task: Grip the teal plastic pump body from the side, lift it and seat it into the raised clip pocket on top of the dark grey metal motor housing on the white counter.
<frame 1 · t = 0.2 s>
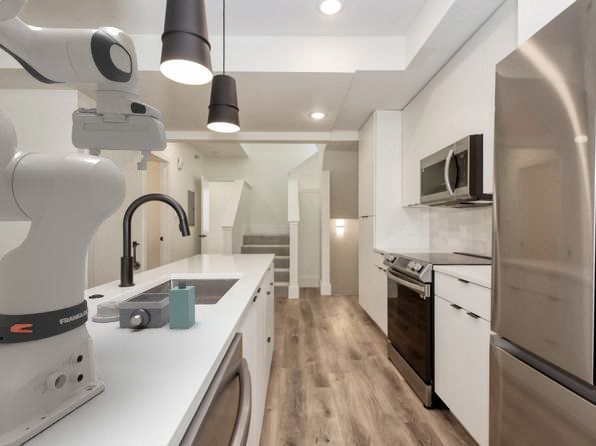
hand: (121, 169, 75), 40 cm above the countertop, tool pointing down, fingers open, 8 cm apart
motor: (150, 321, 90), on the countertop
mechanical component: (112, 318, 94), on the countertop
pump: (182, 325, 86), on the countertop
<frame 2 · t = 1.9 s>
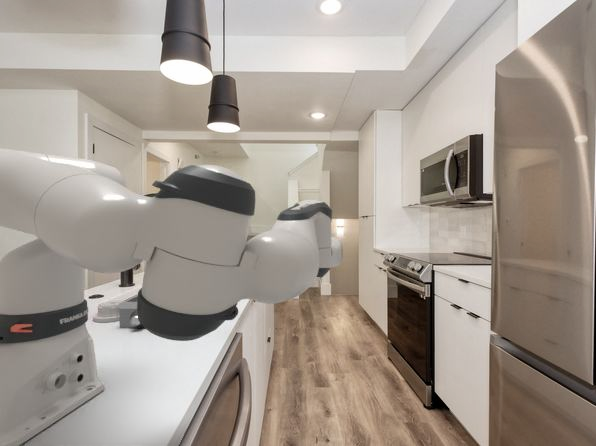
hand: (227, 252, 85), 19 cm above the countertop, tool horizontal, fingers open, 8 cm apart
nothing on the countertop moved.
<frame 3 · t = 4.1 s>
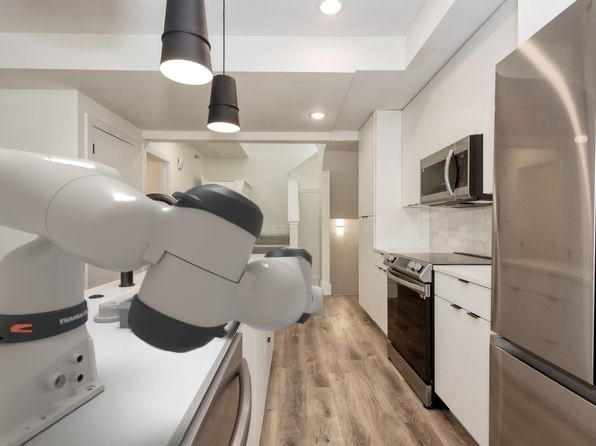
hand: (210, 302, 86), 6 cm above the countertop, tool horizontal, fingers open, 8 cm apart
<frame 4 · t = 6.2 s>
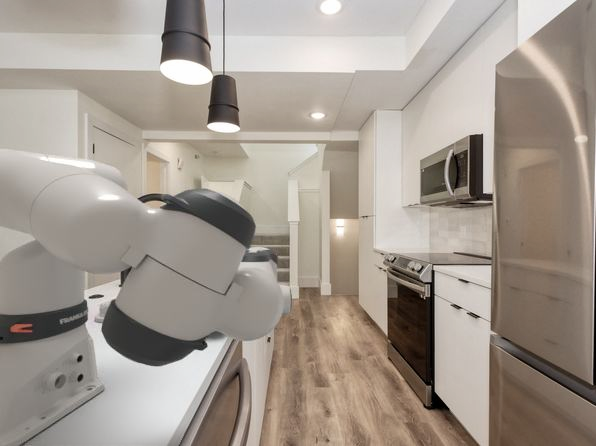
hand: (178, 300, 86), 7 cm above the countertop, tool horizontal, fingers closed on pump, 5 cm apart
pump: (182, 325, 86), on the countertop, touching gripper
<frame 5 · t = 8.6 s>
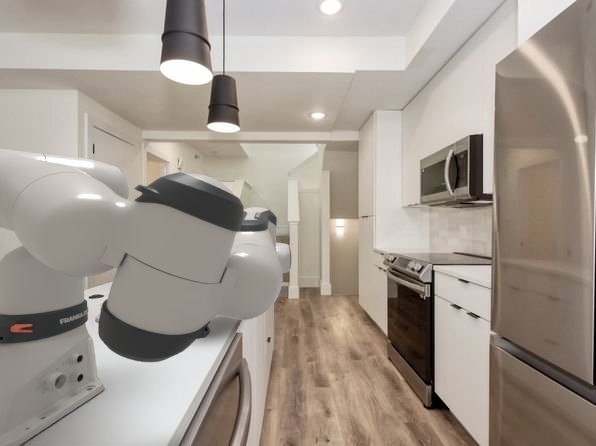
hand: (178, 259, 86), 18 cm above the countertop, tool horizontal, fingers closed on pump, 5 cm apart
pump: (182, 283, 86), point 11 cm above the countertop, touching gripper
when the fingers open (13 cm above the countertop, at t = 11.3 s): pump drops 1 cm, resting on motor.
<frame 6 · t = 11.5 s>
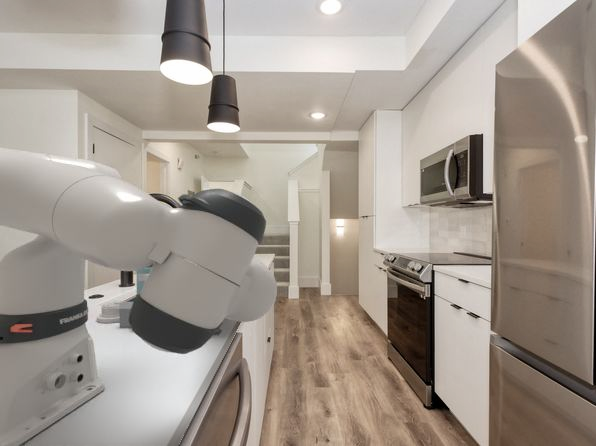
hand: (146, 274, 90), 13 cm above the countertop, tool horizontal, fingers open, 7 cm apart
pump: (150, 302, 90), point 5 cm above the countertop, touching motor
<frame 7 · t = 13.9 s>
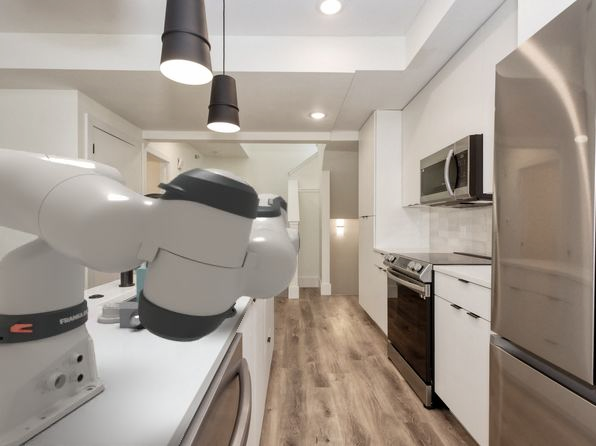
hand: (191, 242, 89), 22 cm above the countertop, tool horizontal, fingers open, 8 cm apart
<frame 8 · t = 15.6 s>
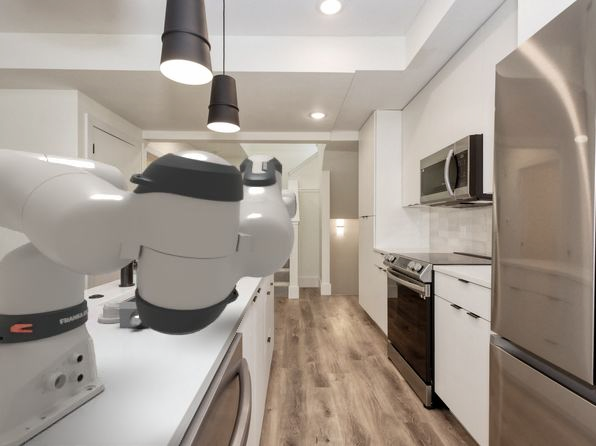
hand: (184, 205, 86), 32 cm above the countertop, tool horizontal, fingers open, 8 cm apart
at the end: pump 0.0 cm off-centre on the motor, point 5.0 cm above the motor's base; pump tilted 0°; the gripper is holding nothing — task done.
